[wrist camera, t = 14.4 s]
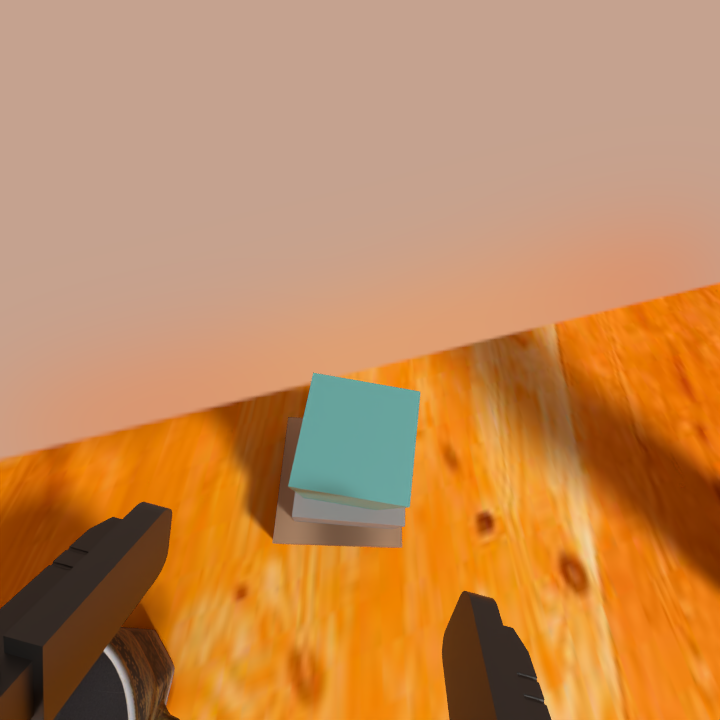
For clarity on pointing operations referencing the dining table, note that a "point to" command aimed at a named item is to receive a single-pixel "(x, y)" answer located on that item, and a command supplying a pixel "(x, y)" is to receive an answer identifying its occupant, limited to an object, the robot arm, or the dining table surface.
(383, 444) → the teal column
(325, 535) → the tower base
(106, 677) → the ceramic cup
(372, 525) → the tower top
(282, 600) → the dining table surface
